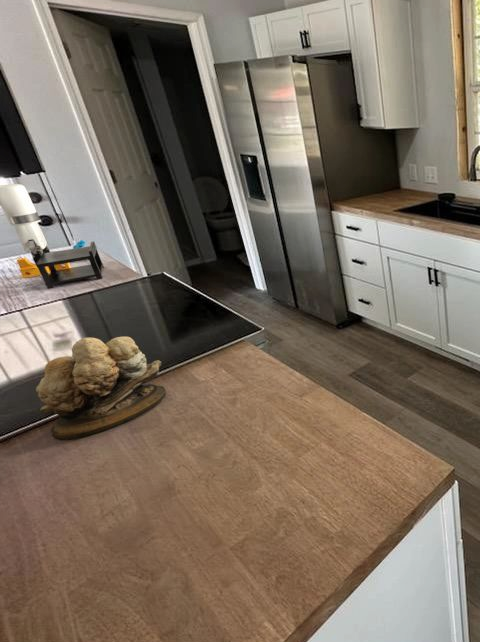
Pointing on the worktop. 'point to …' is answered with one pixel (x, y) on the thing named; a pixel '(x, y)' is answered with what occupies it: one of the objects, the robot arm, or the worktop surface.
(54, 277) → the rack
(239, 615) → the worktop surface
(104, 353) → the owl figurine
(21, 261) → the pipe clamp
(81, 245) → the gear
